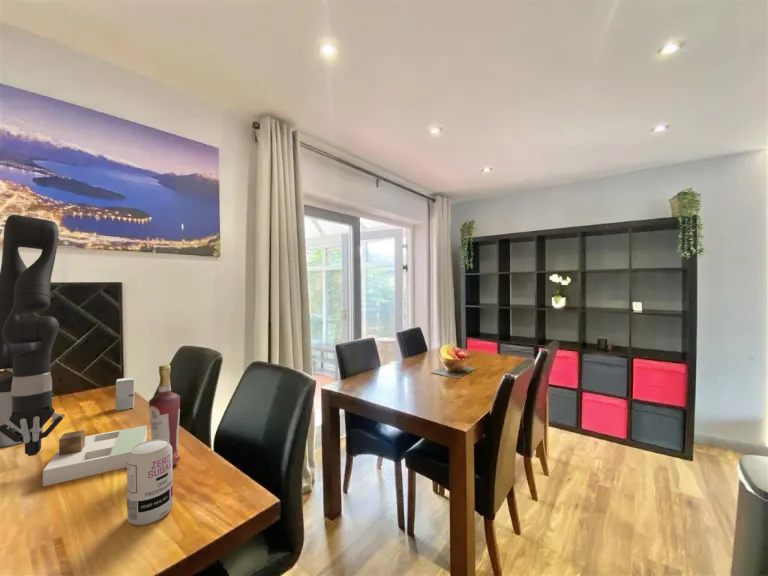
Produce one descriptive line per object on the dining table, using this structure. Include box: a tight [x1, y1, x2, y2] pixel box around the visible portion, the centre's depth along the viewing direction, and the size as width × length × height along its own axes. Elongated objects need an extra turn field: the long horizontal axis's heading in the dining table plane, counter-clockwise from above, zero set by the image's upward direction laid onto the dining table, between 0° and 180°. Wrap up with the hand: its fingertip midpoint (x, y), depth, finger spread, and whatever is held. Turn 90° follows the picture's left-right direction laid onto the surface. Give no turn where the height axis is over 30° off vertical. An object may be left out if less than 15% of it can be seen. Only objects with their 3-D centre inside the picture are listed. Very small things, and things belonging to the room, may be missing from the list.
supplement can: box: [126, 439, 174, 526], centre depth 74 cm, size 8×8×15 cm
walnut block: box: [58, 429, 86, 456], centre depth 95 cm, size 4×4×4 cm
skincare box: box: [114, 377, 135, 412], centre depth 139 cm, size 6×4×12 cm
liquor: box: [148, 364, 181, 468], centre depth 93 cm, size 7×7×28 cm
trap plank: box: [42, 425, 148, 487], centre depth 98 cm, size 20×20×4 cm
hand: (33, 454), depth 90 cm, fingers closed
